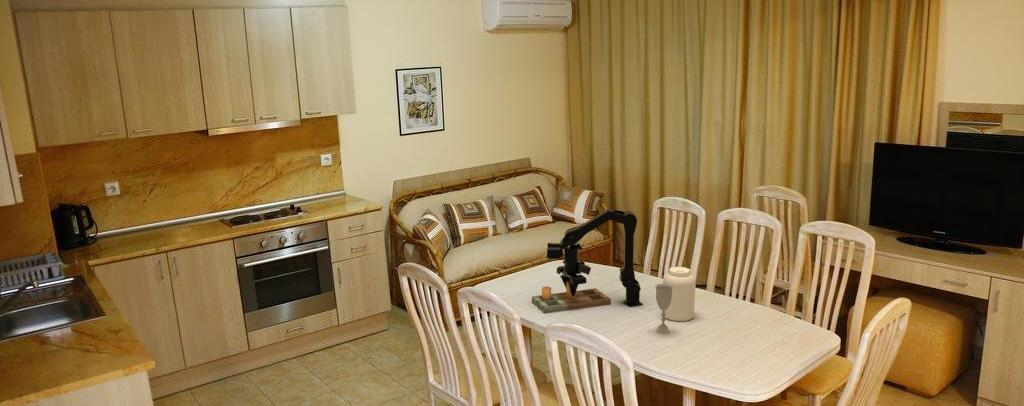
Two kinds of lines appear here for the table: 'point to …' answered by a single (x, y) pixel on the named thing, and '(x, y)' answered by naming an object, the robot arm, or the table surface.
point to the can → (680, 294)
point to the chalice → (663, 303)
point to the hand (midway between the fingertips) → (571, 294)
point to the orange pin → (568, 293)
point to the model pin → (546, 293)
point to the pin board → (572, 301)
